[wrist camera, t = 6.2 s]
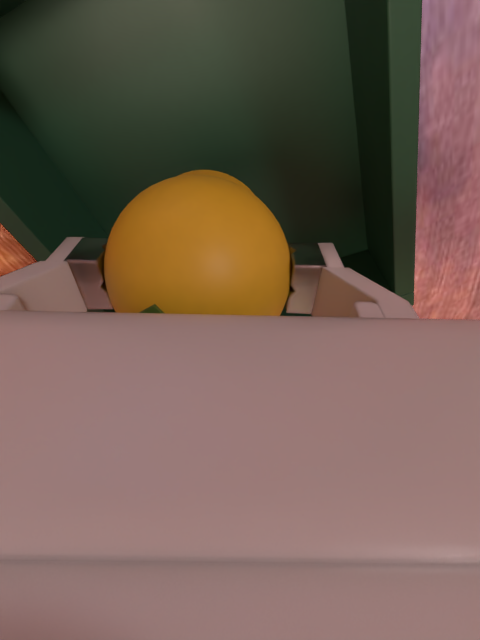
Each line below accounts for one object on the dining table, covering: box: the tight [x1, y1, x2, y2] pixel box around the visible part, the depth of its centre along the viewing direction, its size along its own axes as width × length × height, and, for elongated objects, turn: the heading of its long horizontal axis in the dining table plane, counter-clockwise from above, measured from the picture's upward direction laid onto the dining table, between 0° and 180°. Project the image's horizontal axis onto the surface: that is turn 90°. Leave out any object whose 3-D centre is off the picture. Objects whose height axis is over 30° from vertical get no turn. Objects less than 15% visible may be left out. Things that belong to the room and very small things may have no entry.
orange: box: [104, 170, 291, 316], centre depth 10 cm, size 6×6×7 cm
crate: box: [0, 0, 422, 316], centre depth 14 cm, size 17×16×5 cm
